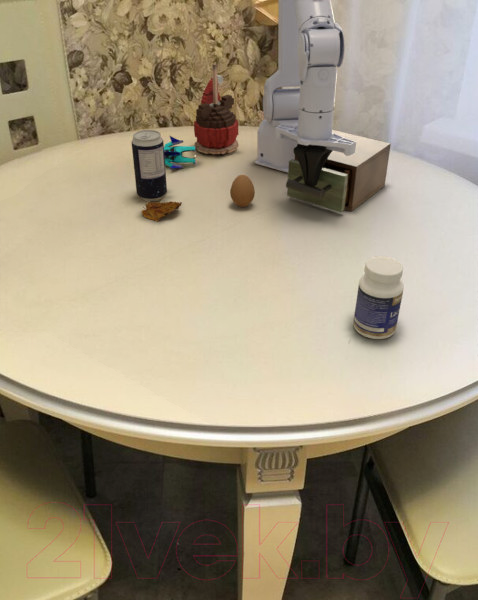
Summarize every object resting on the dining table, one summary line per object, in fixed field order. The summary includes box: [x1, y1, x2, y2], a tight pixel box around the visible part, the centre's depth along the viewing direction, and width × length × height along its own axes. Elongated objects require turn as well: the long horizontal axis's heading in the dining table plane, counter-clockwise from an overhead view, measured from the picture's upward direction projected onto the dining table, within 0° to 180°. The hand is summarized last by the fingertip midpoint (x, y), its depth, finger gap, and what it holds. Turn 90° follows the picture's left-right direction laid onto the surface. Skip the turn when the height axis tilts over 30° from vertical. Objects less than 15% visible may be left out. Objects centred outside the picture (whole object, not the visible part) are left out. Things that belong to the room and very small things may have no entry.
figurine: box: [164, 135, 197, 170], centre depth 127 cm, size 7×6×12 cm
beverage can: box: [130, 129, 168, 202], centre depth 113 cm, size 6×6×12 cm
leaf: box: [141, 201, 183, 222], centre depth 111 cm, size 6×7×2 cm
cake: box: [193, 63, 239, 155], centre depth 131 cm, size 11×9×18 cm
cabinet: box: [295, 129, 392, 212], centre depth 116 cm, size 14×13×9 cm
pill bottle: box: [352, 255, 404, 340], centre depth 80 cm, size 6×6×10 cm
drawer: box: [285, 159, 352, 213], centre depth 113 cm, size 17×11×7 cm
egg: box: [229, 174, 256, 208], centre depth 112 cm, size 4×4×6 cm
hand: (311, 185), depth 108 cm, fingers closed, pressing on drawer
